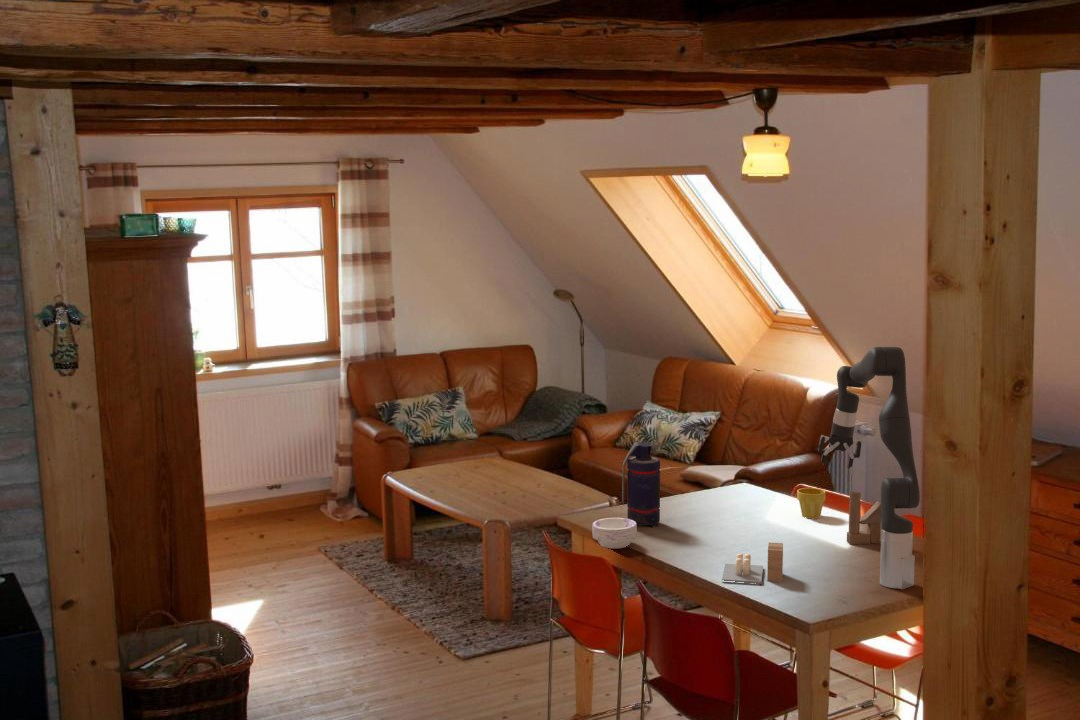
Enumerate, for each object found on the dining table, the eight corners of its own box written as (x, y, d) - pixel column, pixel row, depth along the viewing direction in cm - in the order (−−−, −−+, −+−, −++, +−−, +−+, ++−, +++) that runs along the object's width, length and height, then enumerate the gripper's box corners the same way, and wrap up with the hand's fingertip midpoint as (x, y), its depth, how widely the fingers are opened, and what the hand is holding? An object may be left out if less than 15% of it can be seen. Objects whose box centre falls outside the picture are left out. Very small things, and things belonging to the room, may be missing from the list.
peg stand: (725, 566, 374) (725, 548, 374) (763, 568, 372) (763, 550, 371) (722, 582, 359) (722, 563, 358) (761, 584, 356) (761, 566, 355)
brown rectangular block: (768, 573, 368) (768, 542, 366) (782, 573, 367) (783, 543, 365) (767, 581, 360) (767, 549, 359) (782, 581, 359) (782, 550, 358)
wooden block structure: (880, 543, 397) (882, 492, 395) (850, 545, 396) (851, 493, 394) (876, 540, 401) (878, 490, 398) (846, 541, 400) (847, 491, 397)
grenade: (658, 519, 430) (658, 439, 426) (661, 528, 419) (661, 446, 415) (621, 519, 431) (621, 440, 427) (622, 528, 419) (622, 446, 415)
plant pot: (791, 516, 433) (791, 490, 431) (807, 511, 440) (807, 486, 438) (814, 521, 425) (815, 495, 424) (830, 516, 432) (831, 490, 431)
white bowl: (585, 541, 403) (585, 519, 402) (625, 536, 408) (625, 515, 407) (603, 554, 389) (603, 531, 388) (644, 548, 394) (644, 526, 393)
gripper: (825, 423, 397) (817, 467, 401) (866, 428, 396) (858, 472, 400) (821, 416, 404) (814, 459, 408) (863, 421, 403) (854, 465, 408)
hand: (836, 466), depth 404 cm, fingers open, 8 cm apart
